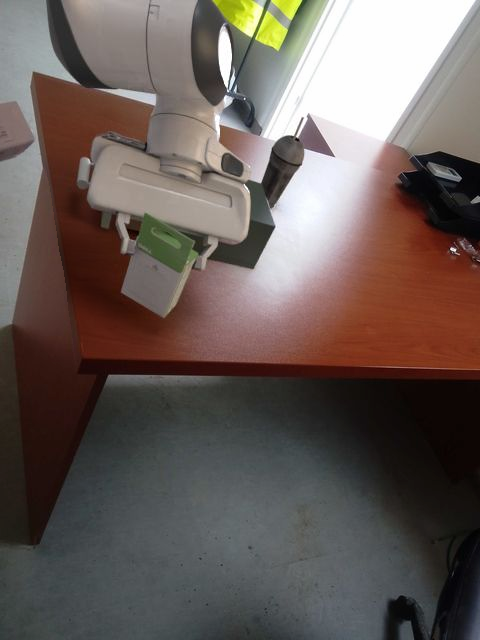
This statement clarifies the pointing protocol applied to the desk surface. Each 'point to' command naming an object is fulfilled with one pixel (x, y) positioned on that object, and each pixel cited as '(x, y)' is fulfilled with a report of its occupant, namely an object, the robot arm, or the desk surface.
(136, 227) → the drawer
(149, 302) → the ink box
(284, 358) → the desk surface
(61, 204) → the desk surface
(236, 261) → the cabinet
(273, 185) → the beverage cup
